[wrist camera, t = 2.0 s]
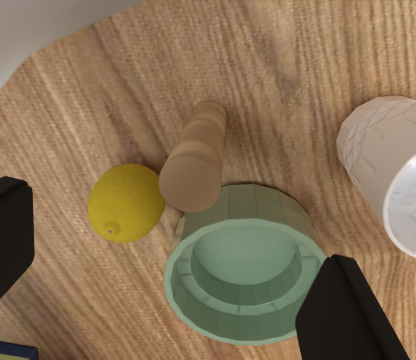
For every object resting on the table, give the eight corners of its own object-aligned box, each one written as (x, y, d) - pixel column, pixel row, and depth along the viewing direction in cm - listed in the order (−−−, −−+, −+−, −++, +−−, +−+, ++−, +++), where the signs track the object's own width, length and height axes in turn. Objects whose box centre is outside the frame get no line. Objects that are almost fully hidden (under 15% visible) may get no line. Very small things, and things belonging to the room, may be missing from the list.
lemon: (99, 167, 27) (50, 216, 19) (150, 138, 25) (117, 180, 18) (136, 214, 29) (103, 274, 21) (185, 190, 27) (167, 246, 20)
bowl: (166, 277, 32) (152, 326, 26) (191, 165, 26) (179, 200, 21) (287, 304, 32) (297, 358, 27) (337, 200, 26) (364, 243, 21)
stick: (188, 130, 25) (153, 204, 14) (195, 97, 23) (163, 149, 13) (221, 138, 25) (213, 218, 14) (230, 105, 23) (228, 164, 13)
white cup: (307, 135, 24) (352, 194, 15) (401, 62, 21) (524, 82, 12) (362, 199, 26) (429, 286, 17) (453, 141, 23) (591, 208, 14)
